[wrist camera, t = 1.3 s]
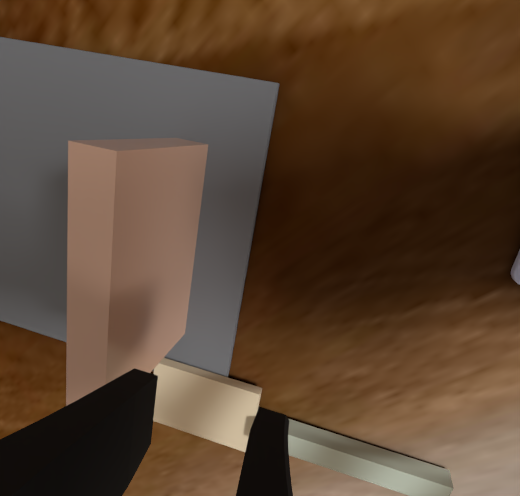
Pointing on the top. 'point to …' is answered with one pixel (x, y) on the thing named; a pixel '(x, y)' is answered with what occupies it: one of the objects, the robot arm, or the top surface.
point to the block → (128, 254)
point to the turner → (299, 434)
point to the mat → (126, 127)
